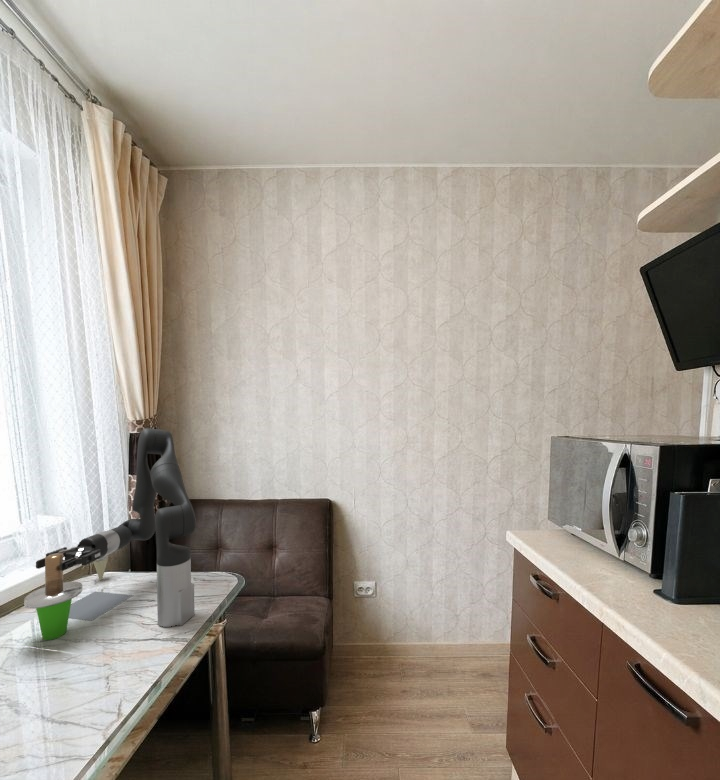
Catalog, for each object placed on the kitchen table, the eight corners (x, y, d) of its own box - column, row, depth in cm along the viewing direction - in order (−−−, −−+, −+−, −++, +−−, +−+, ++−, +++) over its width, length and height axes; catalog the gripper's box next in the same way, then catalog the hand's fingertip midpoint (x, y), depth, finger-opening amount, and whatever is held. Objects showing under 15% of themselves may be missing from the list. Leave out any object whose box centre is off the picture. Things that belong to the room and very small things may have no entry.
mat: (133, 596, 134) (133, 595, 134) (91, 622, 119) (91, 620, 119) (95, 592, 138) (95, 591, 138) (49, 617, 122) (49, 615, 122)
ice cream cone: (89, 583, 146) (88, 541, 146) (102, 577, 150) (102, 537, 151) (98, 585, 144) (98, 543, 144) (112, 579, 149) (111, 538, 149)
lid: (93, 587, 117) (93, 548, 117) (49, 610, 104) (49, 566, 105) (58, 584, 120) (58, 546, 120) (11, 605, 107) (11, 563, 108)
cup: (39, 650, 106) (39, 607, 106) (29, 638, 111) (29, 598, 111) (79, 633, 113) (78, 594, 113) (67, 623, 118) (67, 586, 119)
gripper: (81, 532, 129) (28, 551, 113) (117, 534, 125) (69, 554, 109) (81, 556, 128) (28, 578, 113) (118, 558, 125) (69, 581, 109)
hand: (48, 566), depth 111 cm, fingers open, 8 cm apart
